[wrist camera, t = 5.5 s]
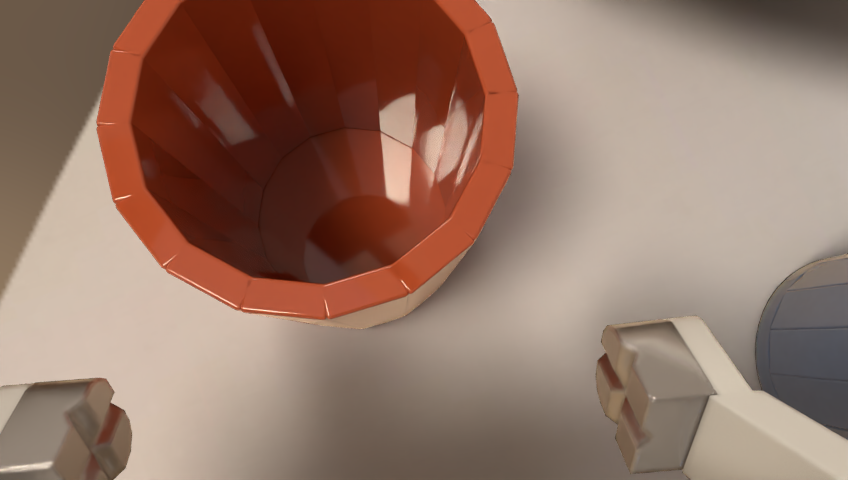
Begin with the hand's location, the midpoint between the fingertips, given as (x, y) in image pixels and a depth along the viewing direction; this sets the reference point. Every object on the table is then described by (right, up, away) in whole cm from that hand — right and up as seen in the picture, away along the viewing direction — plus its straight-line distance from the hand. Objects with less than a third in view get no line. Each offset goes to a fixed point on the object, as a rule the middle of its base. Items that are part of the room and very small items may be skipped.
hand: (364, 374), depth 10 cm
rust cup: (-1, +3, +10) cm, 11 cm away
